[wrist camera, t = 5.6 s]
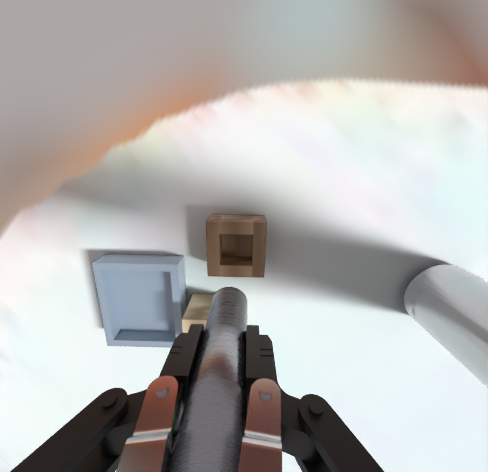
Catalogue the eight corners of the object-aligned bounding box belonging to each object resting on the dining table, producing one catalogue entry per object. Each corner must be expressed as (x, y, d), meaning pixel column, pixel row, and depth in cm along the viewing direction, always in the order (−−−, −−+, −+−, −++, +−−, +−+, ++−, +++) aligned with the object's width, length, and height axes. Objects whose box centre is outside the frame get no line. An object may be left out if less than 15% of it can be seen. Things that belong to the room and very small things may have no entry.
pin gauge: (247, 287, 17) (247, 554, 5) (246, 318, 17) (244, 610, 6) (211, 286, 17) (132, 550, 5) (212, 317, 17) (145, 606, 6)
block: (226, 294, 34) (222, 321, 28) (226, 322, 36) (222, 354, 30) (192, 293, 34) (181, 320, 28) (194, 322, 36) (184, 353, 30)
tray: (183, 255, 32) (177, 264, 29) (188, 333, 36) (183, 347, 33) (105, 254, 32) (91, 262, 30) (118, 331, 36) (107, 345, 33)
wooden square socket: (264, 215, 30) (266, 222, 27) (262, 264, 32) (264, 277, 29) (211, 214, 31) (206, 221, 27) (212, 263, 33) (207, 276, 29)
